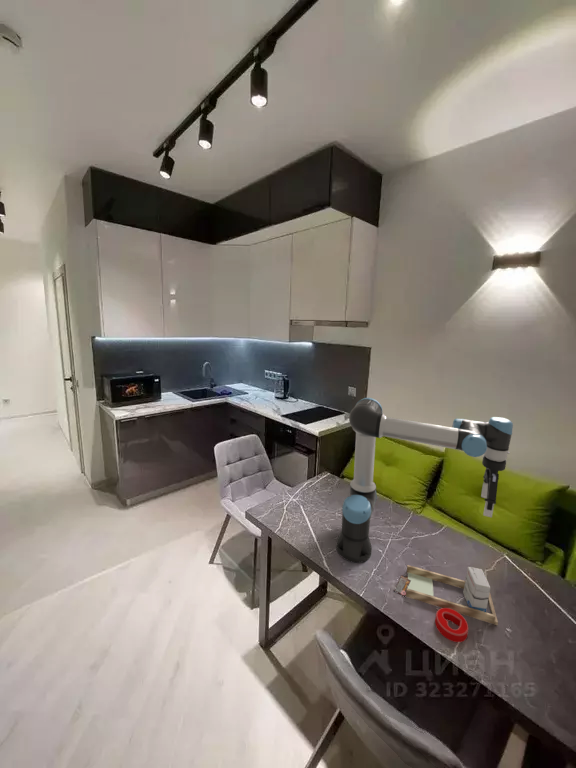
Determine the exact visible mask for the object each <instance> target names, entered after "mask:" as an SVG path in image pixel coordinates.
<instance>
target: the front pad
mask: <svg viewBox="0 0 576 768" xmlns="http://www.w3.org/2000/svg"><path fill="white" fill-rule="evenodd" d="M407 577H408V579H409V580H411V582H410V584H409V586H408V589H411V590H414V591H418V592H421V593H424V594H428V595H431V596H434V597H435V595H434V583H433V581H434V580H432V579H430V578H426V577H423V576H419V575H416V574H412V573H409V572H408V573H407Z"/></svg>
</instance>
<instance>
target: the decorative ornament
mask: <svg viewBox="0 0 576 768" xmlns="http://www.w3.org/2000/svg"><path fill="white" fill-rule="evenodd" d="M434 620H435V621H434V624H435V627H436V629H437V631H438V632H439V634H441V635H442V636H443V637H444V638H445V639H448V640H449V641H451V642H454V643H462V642H464V641H466V640H467V638H468V635H469V625H468V624H469V623H468V622H467V620H466V618H465V617H464V615H463V614H460V613H458V612H457V611H455V610H453V609H450V608H441V607H440V608H439V609H437V611H436V612H435V619H434ZM449 622H452V623H453V624H455V625H456V626H458V628H457V629H453V628H452V627H450V626H449Z"/></svg>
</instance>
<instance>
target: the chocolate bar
mask: <svg viewBox="0 0 576 768" xmlns="http://www.w3.org/2000/svg"><path fill="white" fill-rule="evenodd" d="M410 582H411V580H409V579H408V576H404V575H400V577H399V578H398V580H397V583H398V584H396V585H397V586H396V585H395V587H396V589H395V588H394V589H395V590H393V592H394V591H396V592H398V593H397V594H398V595H400V596H401V595H402V596H401V597H403V596H404V597H405V596H406V590H407V588H408V586H409V584H410ZM396 592H395V593H396ZM404 597H403V598H404ZM405 598H406V597H405Z"/></svg>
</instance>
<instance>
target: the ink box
mask: <svg viewBox="0 0 576 768" xmlns="http://www.w3.org/2000/svg"><path fill="white" fill-rule="evenodd" d="M464 581H465V586H464V589H463V591H462V593H463V596H464V598H465V601H466V603H467V605H468V606H467V607H470V608H474V609H477V610H480V611H483V612H487V608H488V605H489V603H488V598H489V593H490V594H491V586H490V583H489V581H488V579H487V576H486V574H485V573H484V571H483V569H482V568H477V567H473V566H467V572H466V577H465V580H464Z"/></svg>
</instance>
